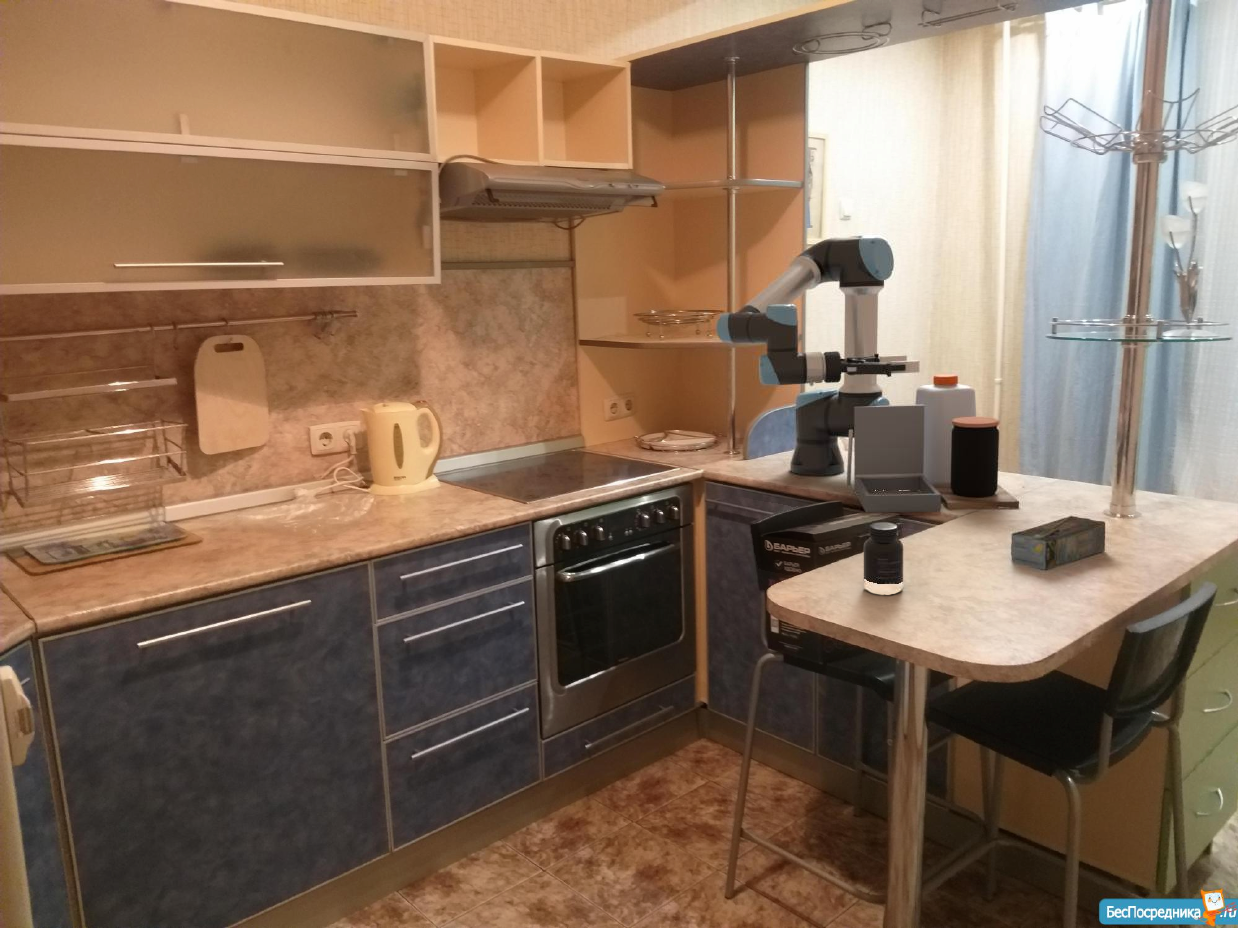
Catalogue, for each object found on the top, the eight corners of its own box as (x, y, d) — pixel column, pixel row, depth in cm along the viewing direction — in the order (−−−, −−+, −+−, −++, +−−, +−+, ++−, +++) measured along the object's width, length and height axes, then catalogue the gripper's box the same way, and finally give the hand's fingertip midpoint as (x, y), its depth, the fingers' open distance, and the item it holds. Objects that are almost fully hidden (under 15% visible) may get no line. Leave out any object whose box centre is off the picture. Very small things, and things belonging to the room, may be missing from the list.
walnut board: (932, 491, 237) (932, 485, 237) (997, 490, 235) (997, 484, 234) (947, 508, 219) (947, 502, 219) (1018, 507, 217) (1019, 501, 217)
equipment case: (846, 486, 247) (846, 404, 242) (918, 485, 244) (919, 401, 240) (859, 512, 220) (859, 420, 216) (940, 511, 218) (942, 418, 213)
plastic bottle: (930, 488, 240) (932, 380, 234) (904, 476, 255) (905, 374, 249) (985, 483, 242) (988, 376, 237) (955, 472, 257) (958, 370, 251)
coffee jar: (989, 487, 231) (992, 415, 228) (1003, 497, 221) (1005, 422, 217) (945, 488, 232) (946, 417, 229) (956, 499, 222) (958, 424, 218)
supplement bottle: (858, 585, 170) (858, 521, 168) (894, 582, 171) (895, 519, 168) (871, 597, 164) (871, 531, 161) (909, 594, 164) (909, 528, 162)
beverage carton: (1007, 562, 180) (1009, 529, 178) (1069, 544, 189) (1070, 512, 188) (1045, 572, 173) (1046, 537, 172) (1107, 552, 182) (1108, 520, 181)
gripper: (817, 377, 240) (901, 373, 238) (830, 389, 216) (924, 385, 214) (816, 347, 238) (901, 343, 237) (830, 357, 214) (925, 352, 212)
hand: (912, 363), depth 225 cm, fingers open, 13 cm apart
